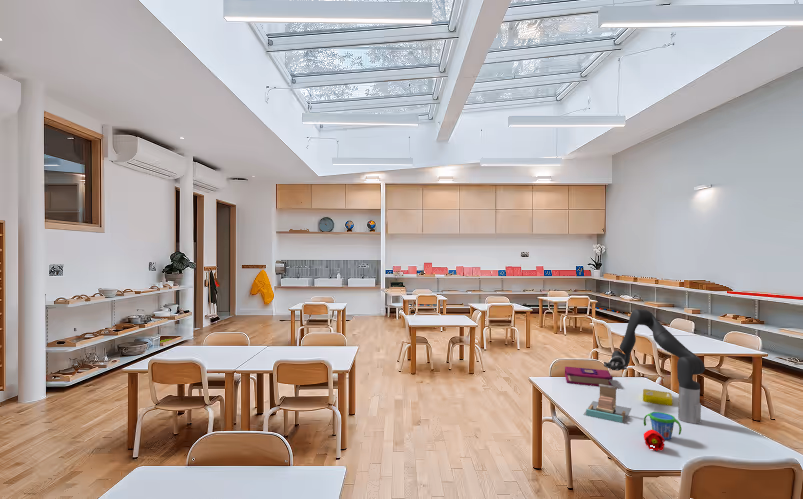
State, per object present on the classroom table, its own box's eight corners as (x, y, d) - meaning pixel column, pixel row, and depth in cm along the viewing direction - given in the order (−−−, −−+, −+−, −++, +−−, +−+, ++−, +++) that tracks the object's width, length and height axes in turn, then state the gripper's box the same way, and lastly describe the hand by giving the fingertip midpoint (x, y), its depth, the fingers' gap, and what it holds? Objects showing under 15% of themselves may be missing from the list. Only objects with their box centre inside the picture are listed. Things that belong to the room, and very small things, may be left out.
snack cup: (639, 434, 214) (640, 413, 214) (649, 429, 221) (649, 408, 221) (675, 445, 202) (676, 423, 202) (684, 440, 209) (684, 418, 209)
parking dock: (592, 401, 260) (593, 395, 260) (631, 409, 249) (631, 402, 249) (583, 415, 237) (583, 409, 237) (624, 424, 226) (625, 417, 226)
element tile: (672, 407, 256) (672, 398, 256) (642, 402, 263) (643, 394, 263) (671, 399, 269) (671, 392, 269) (642, 395, 277) (643, 387, 277)
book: (564, 375, 317) (564, 365, 317) (607, 379, 309) (607, 368, 310) (566, 383, 297) (567, 372, 297) (612, 388, 289) (613, 376, 289)
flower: (664, 434, 202) (668, 440, 194) (656, 448, 203) (660, 455, 195) (647, 424, 204) (650, 430, 197) (638, 438, 205) (641, 445, 198)
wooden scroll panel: (598, 409, 246) (599, 383, 246) (616, 413, 241) (617, 386, 241) (594, 415, 237) (595, 388, 237) (613, 419, 232) (614, 391, 232)
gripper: (605, 355, 274) (600, 360, 260) (629, 358, 267) (625, 363, 252) (605, 367, 274) (600, 373, 259) (629, 370, 267) (625, 376, 252)
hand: (613, 368), depth 256 cm, fingers closed
